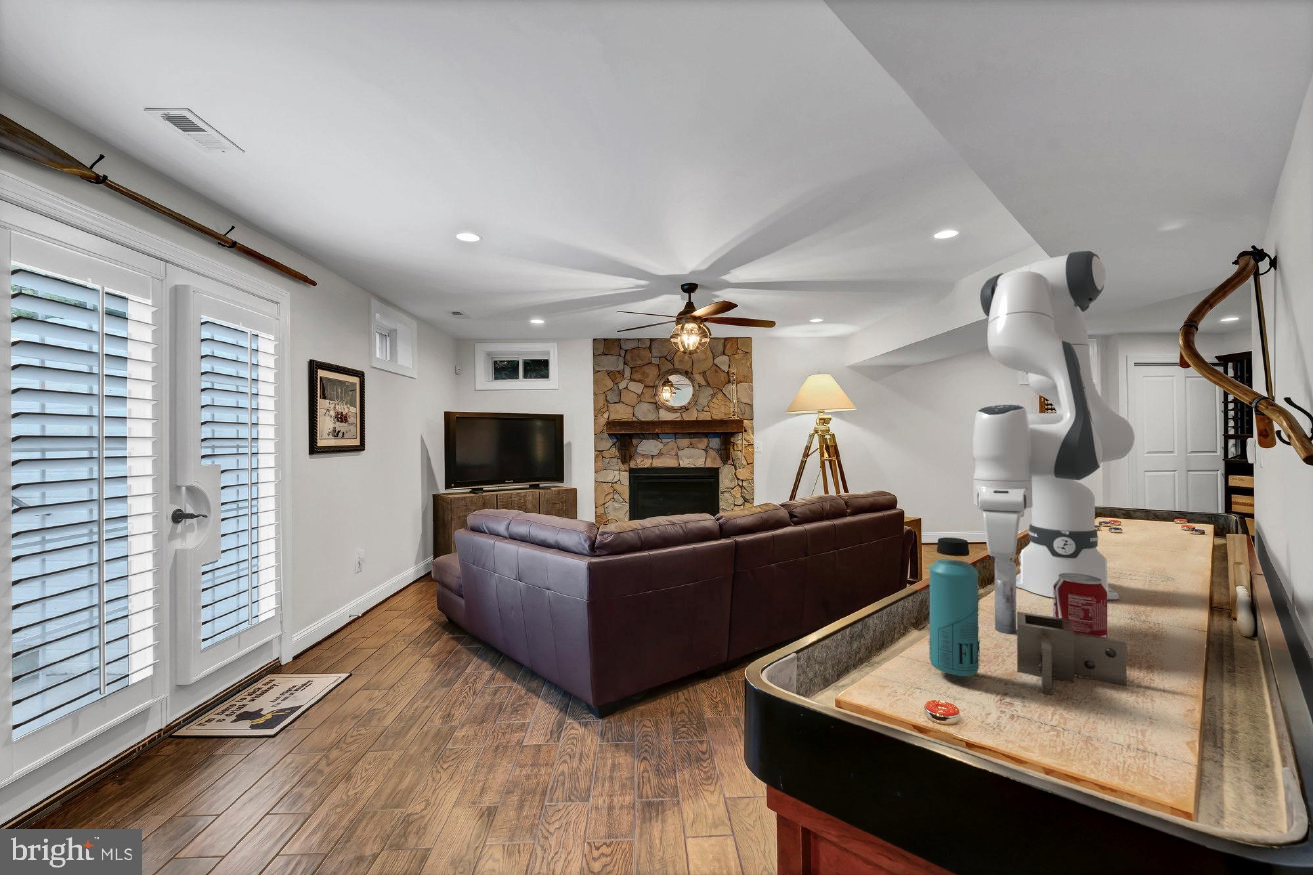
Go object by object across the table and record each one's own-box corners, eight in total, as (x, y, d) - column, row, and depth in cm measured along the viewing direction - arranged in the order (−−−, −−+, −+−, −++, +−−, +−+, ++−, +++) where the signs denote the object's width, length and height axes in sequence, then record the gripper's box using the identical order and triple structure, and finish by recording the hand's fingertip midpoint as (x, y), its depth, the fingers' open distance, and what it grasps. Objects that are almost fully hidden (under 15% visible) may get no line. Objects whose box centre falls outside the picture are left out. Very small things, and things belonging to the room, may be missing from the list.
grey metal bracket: (1017, 655, 85) (1017, 611, 85) (1122, 675, 78) (1122, 627, 78) (1017, 687, 75) (1017, 637, 74) (1138, 713, 68) (1138, 657, 68)
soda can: (1117, 662, 82) (1117, 584, 82) (1067, 659, 84) (1067, 582, 83) (1091, 645, 89) (1091, 572, 89) (1045, 642, 90) (1045, 571, 90)
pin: (995, 626, 98) (994, 560, 98) (1016, 629, 96) (1016, 562, 96) (994, 631, 95) (994, 563, 95) (1016, 635, 94) (1016, 566, 93)
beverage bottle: (958, 690, 74) (958, 545, 74) (917, 671, 80) (917, 536, 80) (990, 681, 77) (990, 540, 76) (948, 663, 83) (948, 532, 82)
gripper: (984, 491, 106) (986, 562, 106) (977, 499, 89) (979, 584, 89) (1023, 492, 102) (1025, 566, 102) (1023, 501, 86) (1025, 589, 85)
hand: (1003, 574), depth 95 cm, fingers open, 8 cm apart
